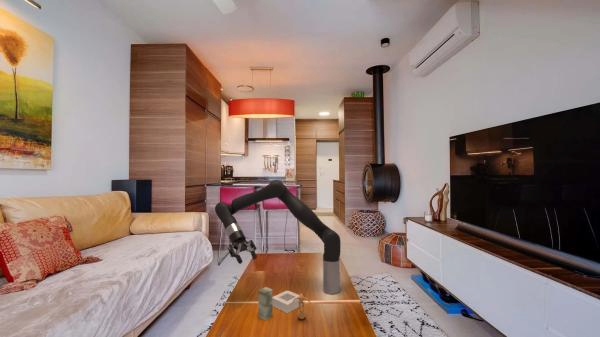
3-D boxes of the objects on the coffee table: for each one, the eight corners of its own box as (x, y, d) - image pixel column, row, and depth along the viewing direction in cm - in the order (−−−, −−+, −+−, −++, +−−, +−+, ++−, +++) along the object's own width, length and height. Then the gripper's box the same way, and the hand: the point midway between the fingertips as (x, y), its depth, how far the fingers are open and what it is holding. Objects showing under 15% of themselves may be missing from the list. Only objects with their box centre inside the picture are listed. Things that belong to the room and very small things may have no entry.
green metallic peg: (266, 313, 121) (266, 287, 121) (272, 316, 118) (272, 289, 118) (258, 316, 117) (258, 290, 118) (264, 320, 114) (264, 293, 115)
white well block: (287, 298, 136) (287, 290, 136) (302, 304, 128) (302, 296, 128) (271, 305, 127) (271, 297, 128) (287, 313, 120) (287, 304, 120)
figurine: (310, 316, 118) (310, 289, 118) (310, 323, 112) (310, 295, 112) (292, 316, 118) (292, 289, 118) (291, 323, 112) (291, 295, 112)
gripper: (226, 231, 128) (239, 259, 120) (249, 227, 139) (263, 253, 130) (220, 240, 131) (232, 268, 123) (243, 236, 142) (256, 261, 134)
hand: (248, 260), depth 127 cm, fingers open, 8 cm apart
